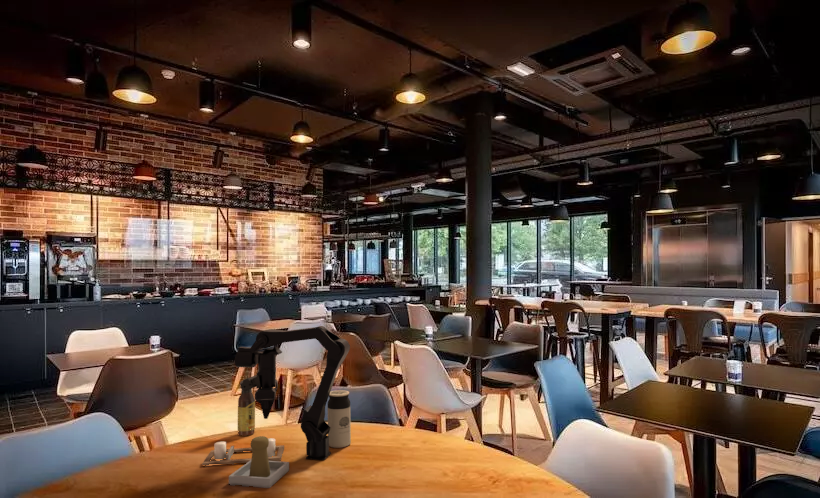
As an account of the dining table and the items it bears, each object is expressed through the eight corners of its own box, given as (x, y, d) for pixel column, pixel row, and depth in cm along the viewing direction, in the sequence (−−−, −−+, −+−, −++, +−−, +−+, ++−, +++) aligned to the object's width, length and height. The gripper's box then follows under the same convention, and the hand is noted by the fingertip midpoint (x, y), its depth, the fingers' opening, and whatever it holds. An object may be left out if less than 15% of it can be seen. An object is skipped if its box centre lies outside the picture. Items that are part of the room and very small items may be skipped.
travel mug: (325, 442, 174) (324, 391, 175) (346, 439, 177) (346, 388, 178) (331, 449, 167) (330, 396, 168) (353, 446, 170) (353, 393, 171)
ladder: (284, 448, 169) (284, 440, 169) (280, 460, 158) (280, 452, 158) (211, 453, 165) (211, 445, 166) (202, 466, 154) (202, 458, 154)
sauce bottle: (251, 436, 182) (251, 382, 183) (234, 436, 182) (235, 382, 183) (257, 431, 189) (257, 378, 190) (241, 431, 189) (241, 379, 190)
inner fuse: (275, 453, 165) (275, 437, 165) (274, 456, 161) (274, 441, 161) (264, 453, 164) (264, 438, 164) (263, 457, 161) (263, 442, 161)
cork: (264, 480, 141) (264, 441, 142) (245, 478, 143) (245, 440, 143) (274, 471, 147) (274, 434, 148) (255, 470, 148) (255, 433, 149)
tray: (289, 470, 150) (289, 461, 150) (269, 487, 137) (269, 478, 138) (251, 467, 152) (251, 459, 152) (228, 485, 140) (228, 476, 140)
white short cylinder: (227, 456, 162) (227, 441, 163) (224, 460, 159) (224, 444, 159) (215, 457, 162) (215, 441, 162) (213, 461, 158) (213, 445, 158)
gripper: (245, 364, 172) (244, 409, 171) (238, 374, 154) (237, 424, 153) (277, 362, 175) (277, 406, 174) (274, 372, 156) (274, 422, 156)
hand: (266, 414), depth 164 cm, fingers open, 9 cm apart
